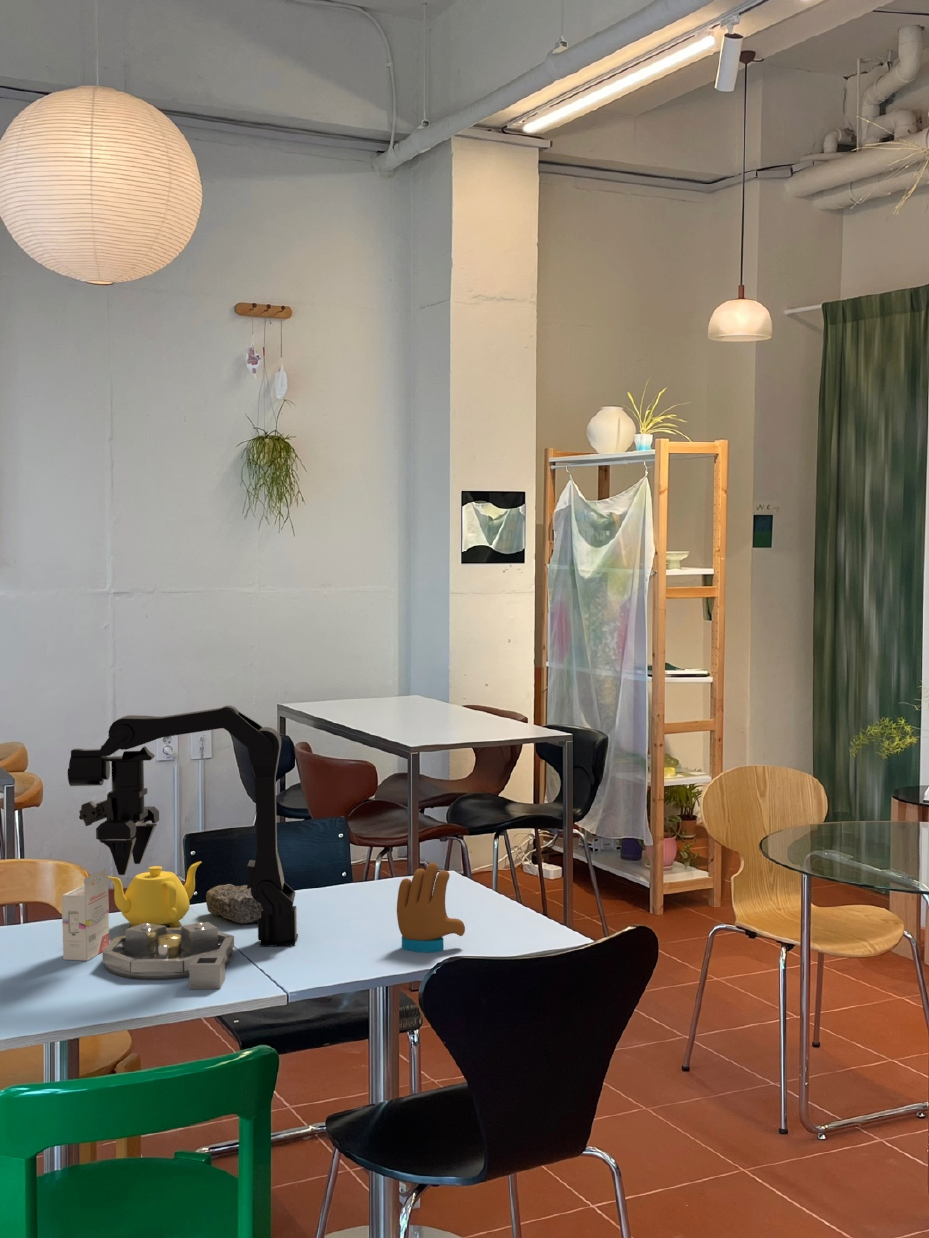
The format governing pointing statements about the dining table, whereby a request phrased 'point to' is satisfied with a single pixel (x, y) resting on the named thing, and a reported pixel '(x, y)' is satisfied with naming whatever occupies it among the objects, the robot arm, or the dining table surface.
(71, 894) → the ink cartridge box
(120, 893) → the teapot
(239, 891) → the rock
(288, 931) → the robot arm
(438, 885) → the toy
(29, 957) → the dining table surface
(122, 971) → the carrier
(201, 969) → the square pipe segment
